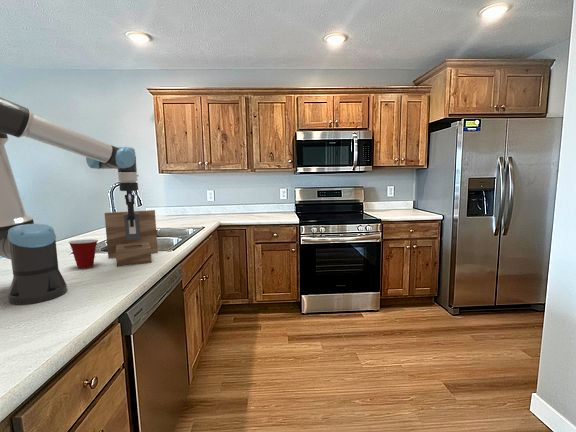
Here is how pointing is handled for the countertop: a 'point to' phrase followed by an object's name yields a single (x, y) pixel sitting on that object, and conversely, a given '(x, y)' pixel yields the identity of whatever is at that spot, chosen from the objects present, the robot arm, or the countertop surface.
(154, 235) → the wooden panel stand
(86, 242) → the plastic cup
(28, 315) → the countertop surface
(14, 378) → the countertop surface
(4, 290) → the countertop surface
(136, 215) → the dark grey rectangular post
